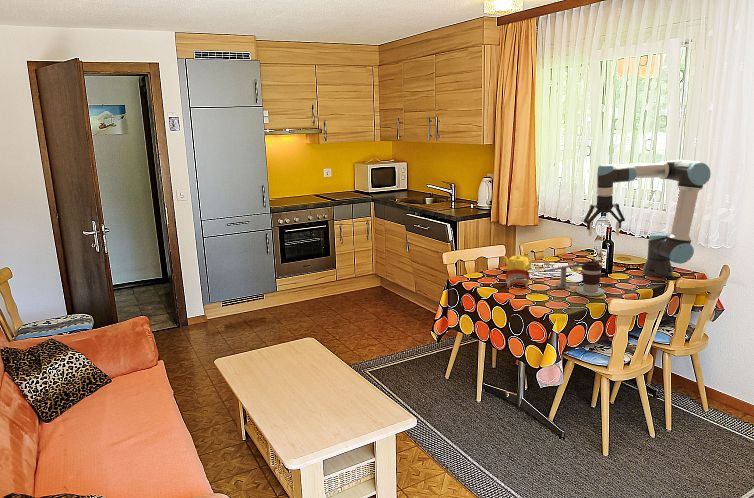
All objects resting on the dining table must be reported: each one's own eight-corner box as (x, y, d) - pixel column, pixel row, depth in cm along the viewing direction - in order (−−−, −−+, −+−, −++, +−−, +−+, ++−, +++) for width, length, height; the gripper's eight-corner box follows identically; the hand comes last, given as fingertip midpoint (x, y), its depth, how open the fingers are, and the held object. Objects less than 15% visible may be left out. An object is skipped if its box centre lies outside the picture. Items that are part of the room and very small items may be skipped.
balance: (581, 284, 304) (582, 261, 301) (583, 288, 298) (585, 264, 295) (542, 284, 307) (543, 261, 304) (544, 288, 301) (544, 264, 298)
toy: (530, 283, 311) (530, 269, 309) (529, 289, 301) (529, 275, 299) (507, 282, 315) (507, 268, 313) (505, 287, 305) (505, 273, 303)
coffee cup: (602, 293, 285) (604, 265, 282) (582, 293, 287) (583, 265, 284) (598, 287, 295) (600, 260, 291) (579, 287, 297) (580, 260, 293)
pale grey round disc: (600, 288, 297) (601, 286, 297) (607, 297, 284) (607, 294, 283) (573, 288, 299) (573, 286, 299) (578, 296, 286) (579, 294, 285)
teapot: (535, 273, 328) (535, 257, 326) (513, 275, 325) (513, 260, 323) (523, 266, 342) (523, 251, 340) (501, 269, 339) (502, 254, 337)
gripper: (628, 192, 288) (626, 232, 293) (577, 195, 291) (577, 234, 296) (632, 195, 280) (630, 235, 286) (581, 197, 284) (580, 237, 289)
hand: (603, 235), depth 291 cm, fingers open, 13 cm apart
